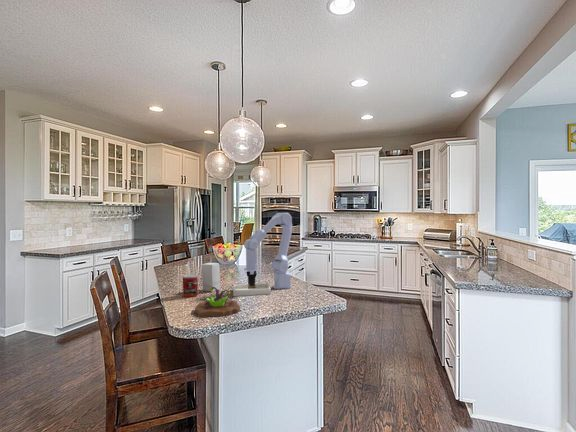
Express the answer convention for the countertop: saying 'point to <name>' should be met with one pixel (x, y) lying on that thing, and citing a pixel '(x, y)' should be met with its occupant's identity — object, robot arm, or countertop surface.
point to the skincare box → (210, 276)
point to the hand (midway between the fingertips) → (251, 284)
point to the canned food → (190, 285)
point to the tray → (259, 289)
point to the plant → (217, 306)
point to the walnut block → (251, 286)
